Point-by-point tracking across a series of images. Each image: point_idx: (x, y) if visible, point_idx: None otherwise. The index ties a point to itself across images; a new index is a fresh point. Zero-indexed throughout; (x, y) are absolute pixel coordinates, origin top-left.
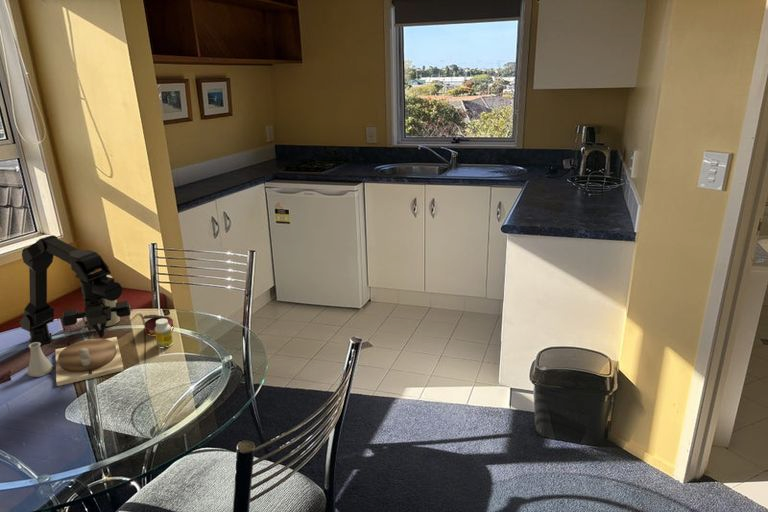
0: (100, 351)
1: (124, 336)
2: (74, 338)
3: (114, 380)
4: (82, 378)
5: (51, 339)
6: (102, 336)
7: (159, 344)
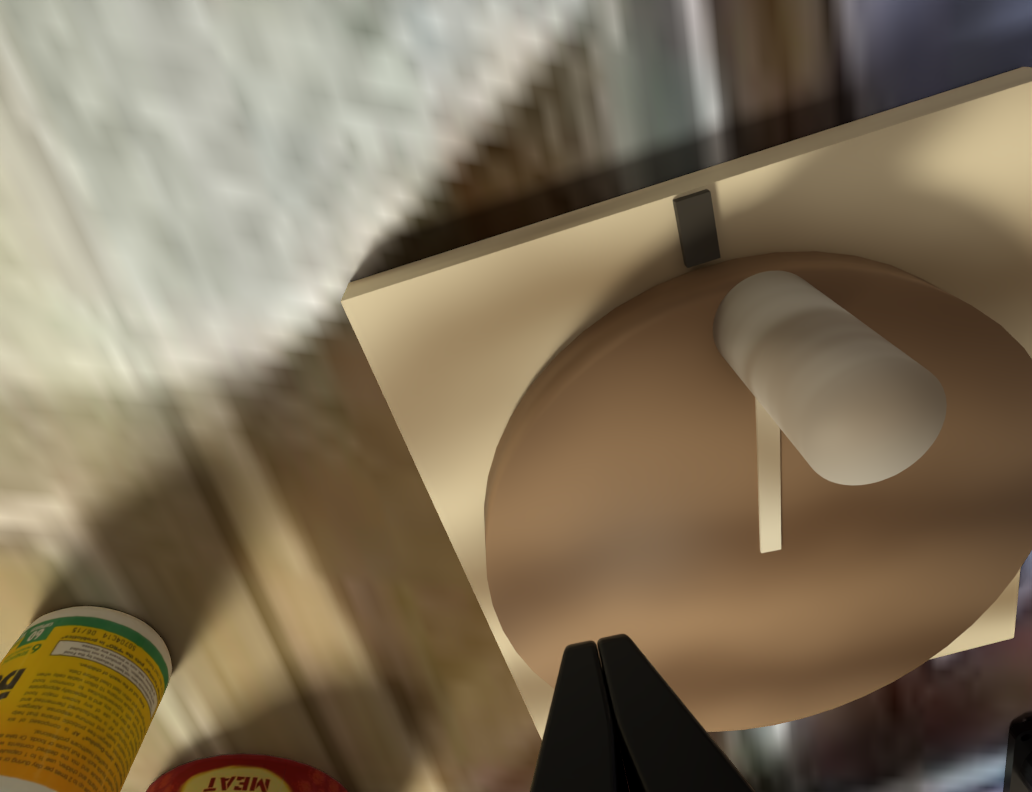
0: (636, 544)
1: (501, 760)
2: (856, 754)
3: (396, 79)
4: (769, 154)
5: (1014, 749)
6: (578, 654)
7: (102, 642)
